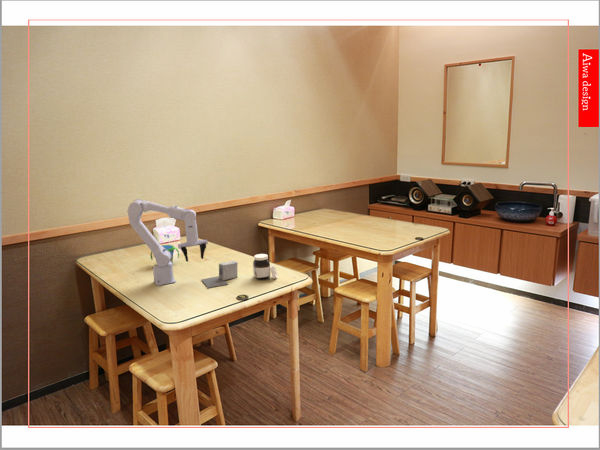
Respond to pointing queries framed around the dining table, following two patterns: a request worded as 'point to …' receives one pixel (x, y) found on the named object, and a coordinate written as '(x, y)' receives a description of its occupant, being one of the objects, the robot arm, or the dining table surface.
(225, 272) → the medicine box
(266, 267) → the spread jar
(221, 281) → the mat
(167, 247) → the snack cup
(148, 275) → the dining table surface
